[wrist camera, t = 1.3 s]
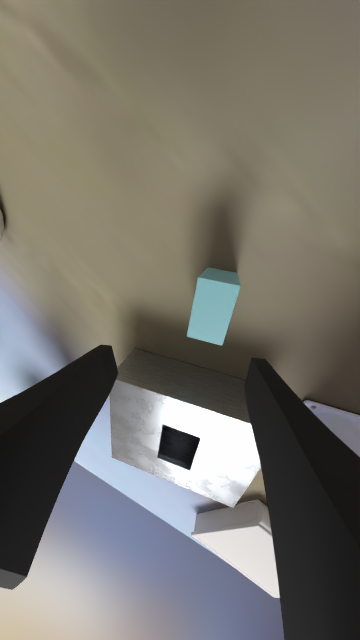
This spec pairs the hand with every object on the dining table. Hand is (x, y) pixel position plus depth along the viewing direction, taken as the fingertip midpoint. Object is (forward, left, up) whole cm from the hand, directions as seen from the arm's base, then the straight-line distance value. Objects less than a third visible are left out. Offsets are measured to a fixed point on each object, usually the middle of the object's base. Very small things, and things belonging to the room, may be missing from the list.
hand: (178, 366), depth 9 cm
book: (-23, +47, -12) cm, 54 cm away
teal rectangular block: (-1, -1, -12) cm, 12 cm away
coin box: (-1, +17, -11) cm, 20 cm away
